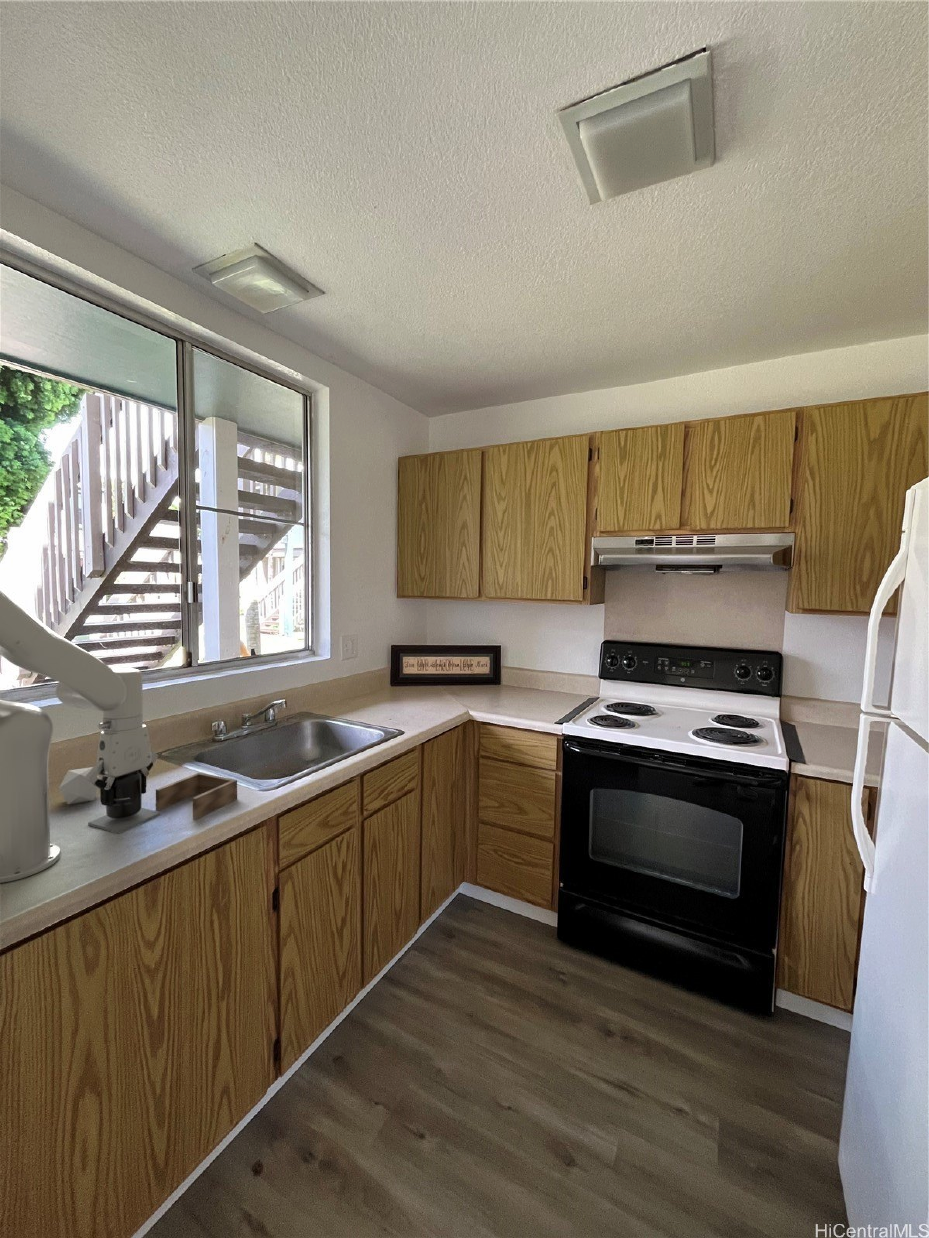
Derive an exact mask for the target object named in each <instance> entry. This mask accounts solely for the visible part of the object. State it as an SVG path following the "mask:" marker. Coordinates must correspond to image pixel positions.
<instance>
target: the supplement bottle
mask: <svg viewBox="0 0 929 1238" xmlns="http://www.w3.org/2000/svg"><path fill="white" fill-rule="evenodd" d="M107 779H108V778H107ZM106 781H107V780H106ZM111 788H113V789H114V805H113V806H111V807H109V806H105V810H106V811H105V812H106V814H105V815H107V816H108V817H110V818H125V817H129V816H132V815H134V814H136V813H138V812H139V811H140V810H141V808H142V807H143V806H142V803H143V802H142V799H143V798H142V775H141V773H140V772H139V771H134V772H131V773H128V774H125V775H122V776H119V777H115V779H114V781H113V783H112V786H111Z"/></svg>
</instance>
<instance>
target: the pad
mask: <svg viewBox="0 0 929 1238" xmlns="http://www.w3.org/2000/svg"><path fill="white" fill-rule="evenodd" d="M161 815H162V813H161V812H160V811H158V810H152V809H148V808H145V807H141V810H140V811H139V812H138V813H136V814H134V815H132V816H129V817H125V818H110V817H108V816H107V814H105V815H102V816H101V817H99V818H96V819H93V820H91V821H89V822H88V824H87V825H88V826H90V827H94V828H98V829H102V830H104V831H107V832H108V831H109V832H112V833H115V834H122V833H123V832H126V831H128V830H131V829H133V828H135V827H137V826H139V825H141V824H144V823H146V822H148V821H150V820H152V819H155V818H157V817H159V816H161Z"/></svg>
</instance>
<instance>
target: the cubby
mask: <svg viewBox="0 0 929 1238" xmlns="http://www.w3.org/2000/svg"><path fill="white" fill-rule="evenodd" d="M197 794H198V795H197ZM195 795H196V796H195ZM193 796H194V797H193ZM190 797H192V820H198V819H200V818H202V817H204V816H207V815H209V814H211V812H214V811H216V810H218V809H220V808H223V807H224V806H227V805H228V804H231V803H232V802H235V801H236V800H238V780H237V779H233V778H229V777H223V776H218V775H214V774H208V773H203V772H197V773H194V774H191V775H189V776H187V777H184V778H180V779H179V780H177V781H174V782H171V783H169V784H166V785H164V786H161V787H159V788H155V811H161V810H163V809H166V808H168V807H170V806H172V805H175V804H177V803H179V802H181V801H184V800H185V799H188V798H190Z"/></svg>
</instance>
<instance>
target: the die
mask: <svg viewBox="0 0 929 1238" xmlns="http://www.w3.org/2000/svg"><path fill="white" fill-rule="evenodd" d="M93 767H94V766H92V767H90V766H89V767H84V768H78V769H69V770H68V771H67V773H65V776H64V778H63V780H62V781H61V784H60V786H59V787H58V790H59V791H60V793H61V795H62V797H63V798H64V800H65V802H66V805H73V804H79V803H85V802H91V801H94V800H95V798H96V795H97V793H98V792H99V790H100V788H98V787H97V786H95V785H93V784H92V783H91V782H90V781H88V780H87V779H86V775H87V774H88V773H89V772H90V771H91V770H92V769H93ZM97 777H98V778H99V779H100V776H99V774H98V775H97Z"/></svg>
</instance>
